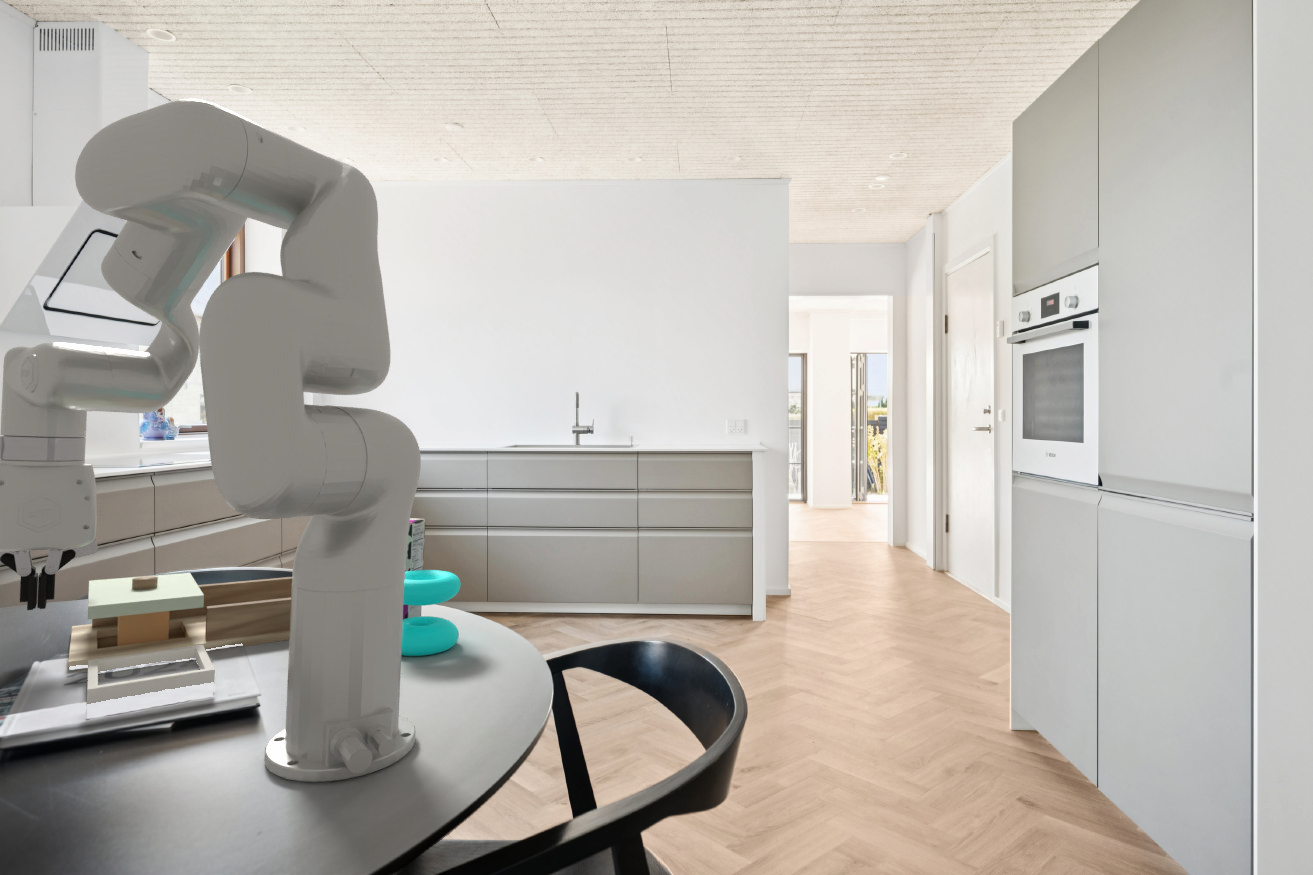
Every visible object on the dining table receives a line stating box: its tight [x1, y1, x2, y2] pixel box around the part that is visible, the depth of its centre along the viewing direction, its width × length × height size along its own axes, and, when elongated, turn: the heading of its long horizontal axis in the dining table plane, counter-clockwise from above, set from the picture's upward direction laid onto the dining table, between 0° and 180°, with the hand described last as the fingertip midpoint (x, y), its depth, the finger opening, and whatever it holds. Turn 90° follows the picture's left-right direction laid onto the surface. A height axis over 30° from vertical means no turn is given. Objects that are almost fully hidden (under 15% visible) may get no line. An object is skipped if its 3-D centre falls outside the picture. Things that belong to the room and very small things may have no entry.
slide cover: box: [87, 572, 204, 620], centre depth 86 cm, size 16×11×3 cm
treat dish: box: [86, 645, 216, 705], centre depth 74 cm, size 11×11×3 cm
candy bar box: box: [403, 517, 426, 619], centre depth 103 cm, size 11×5×16 cm, turn 84°
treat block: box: [117, 611, 170, 646], centre depth 86 cm, size 5×5×5 cm
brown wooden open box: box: [67, 576, 292, 668], centre depth 90 cm, size 17×27×7 cm, turn 130°
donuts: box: [401, 569, 462, 657], centre depth 93 cm, size 10×10×10 cm
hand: (37, 606), depth 80 cm, fingers closed
